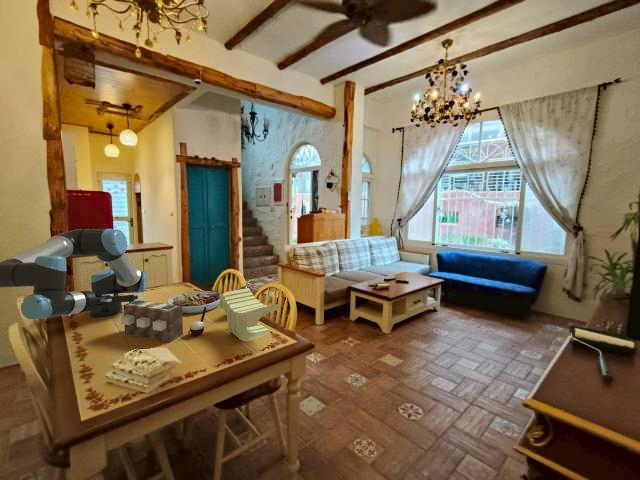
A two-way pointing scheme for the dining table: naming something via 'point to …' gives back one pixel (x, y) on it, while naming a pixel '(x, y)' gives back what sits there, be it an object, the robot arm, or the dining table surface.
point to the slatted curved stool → (245, 314)
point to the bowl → (195, 301)
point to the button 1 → (128, 319)
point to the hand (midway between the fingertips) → (126, 296)
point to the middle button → (143, 322)
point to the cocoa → (197, 326)
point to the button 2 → (159, 325)
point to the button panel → (155, 312)
